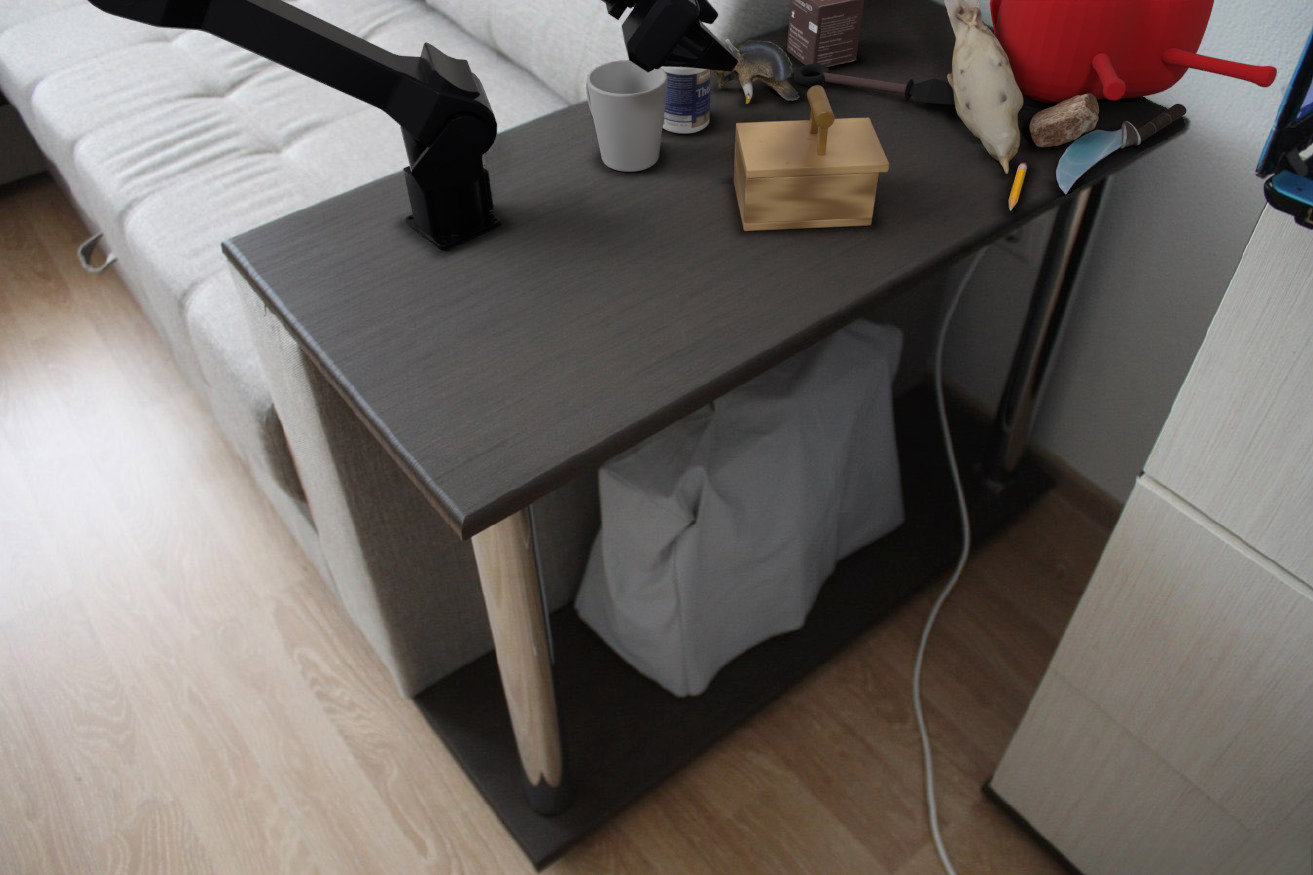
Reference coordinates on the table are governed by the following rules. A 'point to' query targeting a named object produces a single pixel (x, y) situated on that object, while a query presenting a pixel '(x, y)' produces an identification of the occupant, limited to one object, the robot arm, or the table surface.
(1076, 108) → the stone
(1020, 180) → the pencil
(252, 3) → the robot arm
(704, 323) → the table surface
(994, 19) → the novelty television
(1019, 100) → the sculpture
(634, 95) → the cup
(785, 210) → the box
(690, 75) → the pill bottle
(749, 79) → the eagle figurine
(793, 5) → the box
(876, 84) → the kunai knife
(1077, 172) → the knife
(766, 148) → the lid
